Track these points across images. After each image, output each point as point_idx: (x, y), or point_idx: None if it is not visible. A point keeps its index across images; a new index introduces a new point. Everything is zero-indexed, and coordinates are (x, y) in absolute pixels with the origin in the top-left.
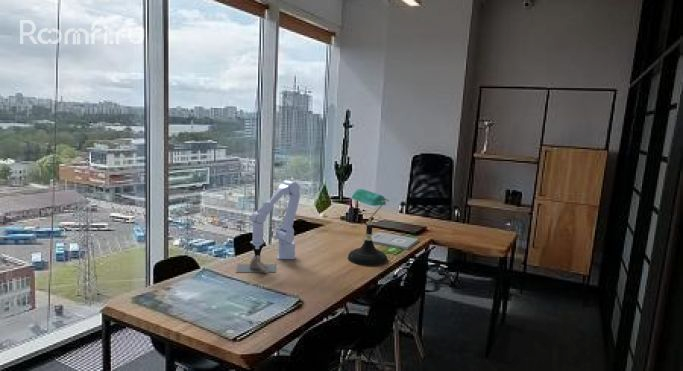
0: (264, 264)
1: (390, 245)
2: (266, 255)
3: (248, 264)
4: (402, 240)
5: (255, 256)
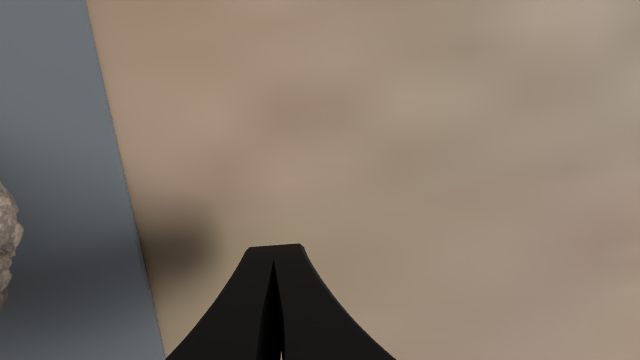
0: (147, 349)
1: None
2: (618, 314)
3: (83, 86)
4: None
5: (237, 271)
